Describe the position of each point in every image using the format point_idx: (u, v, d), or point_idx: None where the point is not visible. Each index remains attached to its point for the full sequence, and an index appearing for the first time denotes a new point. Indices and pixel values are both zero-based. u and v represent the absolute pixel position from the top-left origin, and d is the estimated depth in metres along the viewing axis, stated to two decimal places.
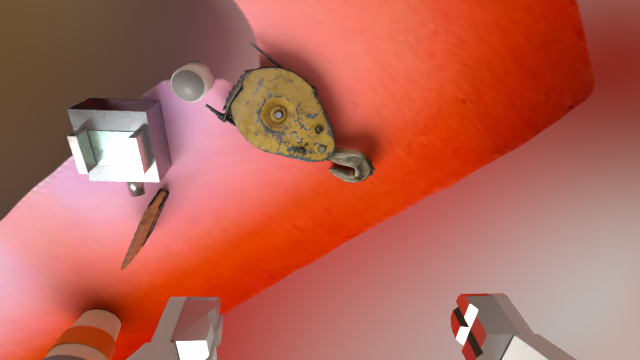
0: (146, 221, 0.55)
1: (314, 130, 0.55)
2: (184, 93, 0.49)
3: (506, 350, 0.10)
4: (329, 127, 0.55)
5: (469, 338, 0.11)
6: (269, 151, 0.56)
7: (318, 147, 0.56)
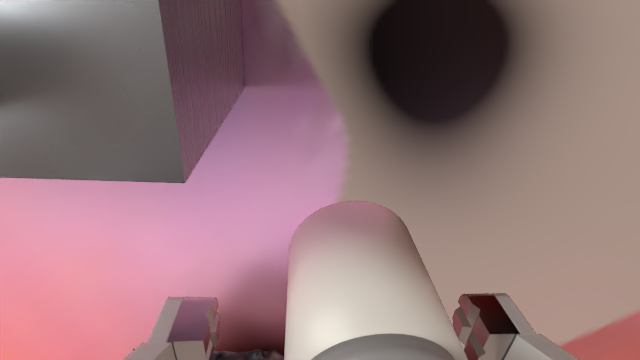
0: None
1: None
2: None
3: (509, 350, 0.10)
4: None
5: (471, 338, 0.11)
6: None
7: None
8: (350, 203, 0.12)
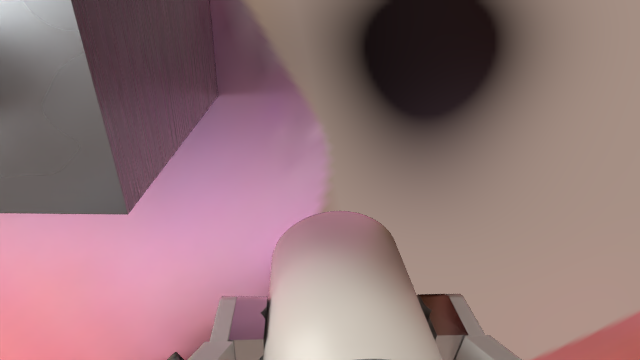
0: None
1: None
2: None
3: (458, 351, 0.10)
4: None
5: None
6: None
7: None
8: (333, 214, 0.12)
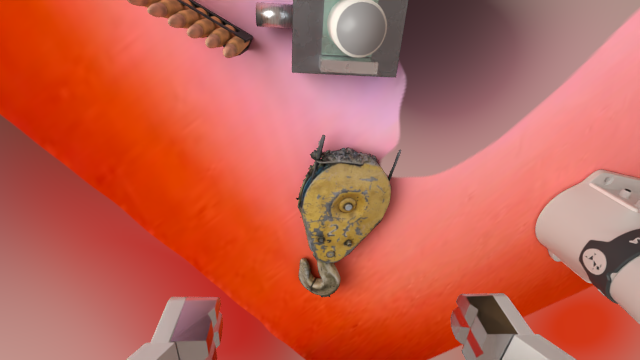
0: (234, 55, 0.33)
1: (345, 240, 0.52)
2: (351, 21, 0.30)
3: (506, 350, 0.10)
4: (353, 248, 0.54)
5: (469, 338, 0.11)
6: (304, 214, 0.49)
7: (330, 251, 0.53)
8: None
